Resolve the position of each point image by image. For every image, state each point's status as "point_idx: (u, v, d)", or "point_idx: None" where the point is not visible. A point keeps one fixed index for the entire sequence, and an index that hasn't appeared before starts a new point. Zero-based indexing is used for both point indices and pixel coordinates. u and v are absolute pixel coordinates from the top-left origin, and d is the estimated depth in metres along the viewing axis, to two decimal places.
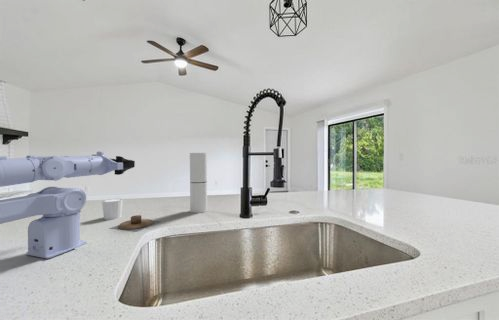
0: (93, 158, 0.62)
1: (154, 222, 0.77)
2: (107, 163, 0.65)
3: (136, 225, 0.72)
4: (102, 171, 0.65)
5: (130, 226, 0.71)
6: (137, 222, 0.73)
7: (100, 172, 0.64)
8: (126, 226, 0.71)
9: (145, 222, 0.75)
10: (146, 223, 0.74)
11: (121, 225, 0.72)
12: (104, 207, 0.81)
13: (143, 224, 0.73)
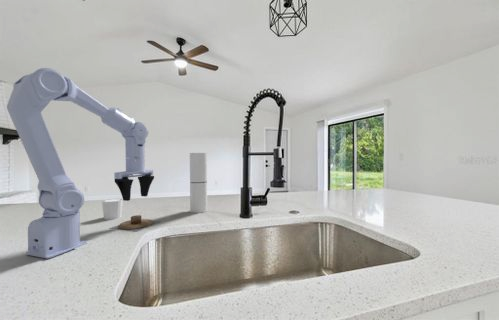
0: (136, 162, 0.72)
1: (154, 222, 0.77)
2: None
3: (136, 225, 0.72)
4: None
5: (130, 226, 0.71)
6: (137, 222, 0.73)
7: None
8: (126, 226, 0.71)
9: (145, 222, 0.75)
10: (146, 223, 0.74)
11: (121, 225, 0.72)
12: (104, 207, 0.81)
13: (143, 224, 0.73)
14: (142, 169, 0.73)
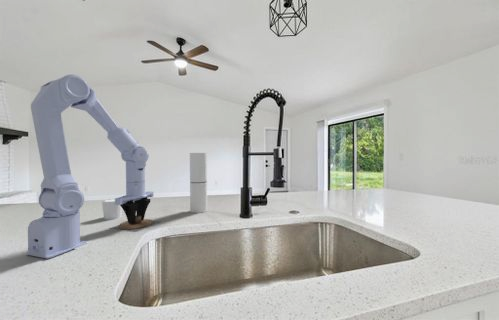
0: (136, 186, 0.72)
1: (154, 222, 0.77)
2: None
3: (136, 225, 0.72)
4: (126, 193, 0.73)
5: (130, 226, 0.71)
6: (137, 222, 0.73)
7: (126, 192, 0.73)
8: (126, 226, 0.71)
9: (145, 222, 0.75)
10: (146, 223, 0.74)
11: (121, 225, 0.72)
12: (104, 207, 0.81)
13: (143, 224, 0.73)
14: (142, 193, 0.73)
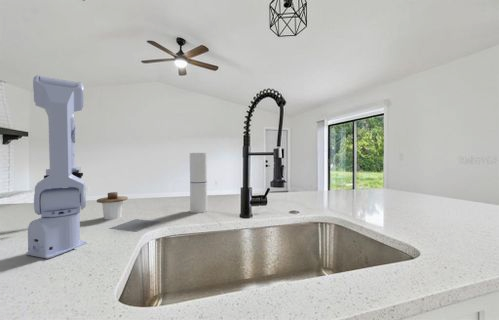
0: None
1: (154, 222, 0.77)
2: None
3: (112, 199, 0.81)
4: None
5: (106, 200, 0.80)
6: (113, 197, 0.83)
7: None
8: (103, 200, 0.80)
9: (121, 198, 0.84)
10: (121, 198, 0.83)
11: (98, 200, 0.81)
12: (104, 207, 0.81)
13: (118, 199, 0.82)
14: (73, 166, 0.77)
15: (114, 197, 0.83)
